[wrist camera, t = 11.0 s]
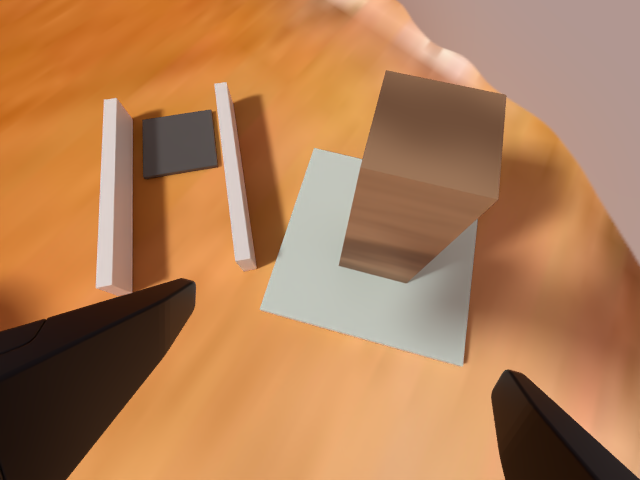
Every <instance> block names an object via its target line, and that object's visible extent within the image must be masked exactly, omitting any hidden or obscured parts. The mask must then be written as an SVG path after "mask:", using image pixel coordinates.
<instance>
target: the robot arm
mask: <svg viewBox="0 0 640 480" xmlns="http://www.w3.org/2000/svg"><path fill="white" fill-rule="evenodd" d="M195 297H196V284H195V282H194V281H191V280H187V279H184V278H180V279H177V280H173V281H170V282H167V283H163V284H160V285H156V286H153V287H150V288H146V289H143V290H140V291H136V292H133V293H130V294H126V295H123V296H119V297H116V298H113V299H109V300H106V301H103V302H99V303H96V304H93V305H89V306H86V307H82V308H79V309H76V310H72V311H69V312H66V313H62V314H59V315H56V316H52V317H49V318H47V320H46V319H42V320H39V321H35V322H32V323H29V324H25V325H22V326H18V327H15V328H11V329H8V330H4V331H1V332H0V480H66V479H67V478H68V477H69V476H70V474H71V473H72V472H73V470H74V469H75V468H76V467H77V465H78V464H79V463H80V462H81V460H82V459H83V458H84V457H85V455H86V454H87V453H88V452H89V450H90V449H91V448H92V447H93V445H94V444H95V443H96V442H97V440H98V439H99V438H100V437H101V435H102V434H103V433H104V432H105V430H106V429H107V428H108V426H109V425H110V424H111V423H112V421H113V420H114V419H115V418H116V416H117V415H118V414H119V413H120V411H121V410H122V409H123V408H124V406H125V405H126V404H127V403H128V401H129V400H130V399H131V398H132V396H133V395H134V394H135V393H136V391H137V390H138V389H139V388H140V386H141V385H142V384H143V382H144V381H145V380H146V379H147V377H148V376H149V375H150V374H151V372H152V371H153V370H154V369H155V367H156V366H157V365H158V364H159V362H160V361H161V360H162V358H163V357H164V356H165V354H166V353H167V351H168V350H169V349H170V347H171V345H172V344H173V342H174V341H175V339H176V338H177V336H178V334H179V333H180V331H181V330H182V328H183V326H184V325H185V323H186V322H187V320H188V319H189V317H190V315H191V314H192V312H193V310H194V307H195ZM491 400H492V407H493V414H494V421H495V428H496V435H497V442H498V449H499V455H500V460H501V464H502V468H503V472H504V476H505V480H640V479H639V478H638V477H636V476H635V475H634V474H633V473H632V472H631V471H630V470H629V469H628V468H627V467H625V466H624V465H623V464H622V463H621V462H620V461H619V460H618V459H617V458H616V457H614V456H613V455H612V454H611V453H610V452H609V451H608V450H607V449H606V448H605V447H603V446H602V445H601V444H600V443H599V442H598V441H597V440H596V439H595V438H594V437H592V436H591V435H590V434H589V433H588V432H587V431H586V430H585V429H584V428H582V427H581V426H580V425H579V424H578V423H577V422H576V421H575V420H574V419H573V418H571V417H570V416H569V415H568V414H567V413H566V412H565V411H564V410H563V409H562V408H560V407H559V406H558V405H557V404H556V403H555V402H554V401H553V400H552V399H551V398H549V397H548V396H547V395H546V394H545V393H544V392H543V391H542V390H541V389H540V388H538V387H537V386H536V385H535V384H534V383H533V382H532V381H531V380H530V379H529V378H527V377H526V376H525V375H524V374H522V373H520V372H516V371H512V370H505V371H504V372H503V373H502V375H501V376H500V378H499V380H498V382H497V383H496V385H495V387H494V388H493V390H492V395H491Z"/></svg>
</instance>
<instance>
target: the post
mask: <svg viewBox="0 0 640 480" xmlns="http://www.w3.org/2000/svg"><path fill="white" fill-rule="evenodd" d="M505 107H506V95H504V94H499V93H494V92H489V91H484V90H479V89H474V88H470V87H465V86H460V85H455V84H450V83H445V82H440V81H435V80H431V79H426V78H421V77H416V76H411V75H406V74H401V73H396V72H392V71H387V70H386V72H385V76H384V80H383V84H382V87H381V91H380V95H379V99H378V102H377V106H376V110H375V114H374V118H373V121H372V125H371V129H370V133H369V136H368V140H367V144H366V148H365V151H364V155H363V159H362V163H361V167H360V171H359V175H358V180H357V184H356V189H355V193H354V198H353V203H352V207H351V212H350V216H349V221H348V225H347V230H346V234H345V239H344V243H343V248H342V252H341V257H340V261H339V266H341V267H345V268H349V269H352V270H356V271H360V272H364V273H368V274H371V275H375V276H379V277H383V278H387V279H391V280H394V281H398V282H402V283H408V282H409V281H410V280H411V279H412V278H413V277H414V276H415V275H416V274H417V273H418V272H420V271H421V270H422V269H423V268H424V267H425V266H426V265H427V264H428V263H429V262H431V261H432V260H433V259H434V258H435V257H436V256H437V255H438V254H439V253H440V252H442V251H443V250H444V249H445V248H446V247H447V246H448V245H449V244H450V243H451V242H452V241H454V240H455V239H456V238H457V237H458V236H459V235H460V234H461V233H462V232H463V231H465V230H466V229H467V228H468V227H469V226H470V225H471V224H472V223H473V222H474V221H476V220H477V219H478V218H479V217H480V216H481V215H482V214H483V213H484V212H485V211H486V210H488V209H489V208H490V207H491V206H492V205H493V204H494V203H495V202H496V201H497V200H498V198H499V185H500V172H501V159H502V146H503V133H504V120H505Z"/></svg>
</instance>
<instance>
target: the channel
mask: <svg viewBox="0 0 640 480" xmlns="http://www.w3.org/2000/svg"><path fill="white" fill-rule="evenodd" d="M215 93H216V101H217V110H218V118H219V127H220V135H221V143H222V152H223V160H224V169H225V177H226V186H227V194H228V202H229V211H230V219H231V228H232V236H233V244H234V253H235V261H236V262H237V264H238V265H239V266H240V268H241V269H242V270H243V271H248V270H253V269H257V266H256V259H255V252H254V245H253V238H252V231H251V224H250V217H249V210H248V203H247V196H246V189H245V182H244V175H243V168H242V161H241V154H240V147H239V140H238V133H237V126H236V119H235V112H234V105H233V102H232V99H231V95H230V92H229V89H228V86H227V83H226V82H224V83H217V84H215ZM215 167H218V162H217V153H216V144H215V135H214V126H213V117H212V111H211V110H205V111H198V112H192V113H185V114H179V115H172V116H165V117H159V118H152V119H146V120H143V177H144V178H145V179H149V178H155V177H161V176H167V175H173V174H179V173H185V172H191V171H197V170H203V169H209V168H215ZM132 269H133V119H132V118H131V117H130V115H129V114H128V113H127V111H126V110H125V109H124V107H123V106H122V104H121V103H120V102H119V100H118V99H117V98H114V99H107V100H104V115H103V137H102V160H101V183H100V205H99V228H98V251H97V273H96V288H97V289H100V290H103V291H106V292H109V293H112V294H114V295H117V296H120V295H125V294H130V293H132Z"/></svg>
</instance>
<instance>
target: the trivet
mask: <svg viewBox="0 0 640 480" xmlns="http://www.w3.org/2000/svg"><path fill="white" fill-rule="evenodd" d="M361 163H362V159H359V158H355V157H351V156H346V155H342V154H338V153H333V152H329V151H325V150H320V149H316V148H314V150H313V153H312V156H311V159H310V162H309V165H308V168H307V171H306V174H305V177H304V180H303V183H302V186H301V188H300V191H299V194H298V197H297V200H296V203H295V206H294V209H293V212H292V215H291V218H290V221H289V224H288V227H287V230H286V233H285V236H284V239H283V242H282V245H281V248H280V251H279V254H278V257H277V260H276V263H275V266H274V268H273V271H272V274H271V277H270V280H269V283H268V286H267V289H266V292H265V295H264V298H263V301H262V304H261V307H260V310H261V311H264V312H267V313H271V314H274V315H278V316H281V317H285V318H289V319H292V320H296V321H299V322H303V323H306V324H310V325H313V326H317V327H321V328H324V329H328V330H331V331H335V332H338V333H342V334H345V335H349V336H353V337H356V338H360V339H363V340H367V341H370V342H374V343H377V344H381V345H385V346H388V347H392V348H395V349H399V350H402V351H406V352H409V353H413V354H417V355H420V356H424V357H427V358H431V359H434V360H438V361H441V362H445V363H448V364H452V365H456V366H463V360H464V350H465V340H466V330H467V320H468V311H469V301H470V291H471V281H472V271H473V261H474V252H475V242H476V232H477V222H478V219H477V220H476V221H474V222H473V223H472V224H471V225H470V226H469V227H468V228H467V229H466V230H465V231H463V232H462V233H461V234H460V235H459V236H458V237H457V238H456V239H455V240H454V241H452V242H451V243H450V244H449V245H448V246H447V247H446V248H445V249H444V250H443V251H442V252H440V253H439V254H438V255H437V256H436V257H435V258H434V259H433V260H432V261H431V262H429V263H428V264H427V265H426V266H425V267H424V268H423V269H422V270H421V271H420V272H418V273H417V274H416V275H415V276H414V277H413V278H412V279H411V280H410V281H409V282H408V283H402V282H398V281H394V280H391V279H387V278H383V277H379V276H375V275H371V274H368V273H364V272H360V271H356V270H352V269H349V268H345V267H341V266H339V261H340V257H341V252H342V248H343V243H344V239H345V234H346V230H347V225H348V221H349V216H350V212H351V207H352V203H353V198H354V193H355V189H356V184H357V180H358V175H359V171H360V167H361Z"/></svg>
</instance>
